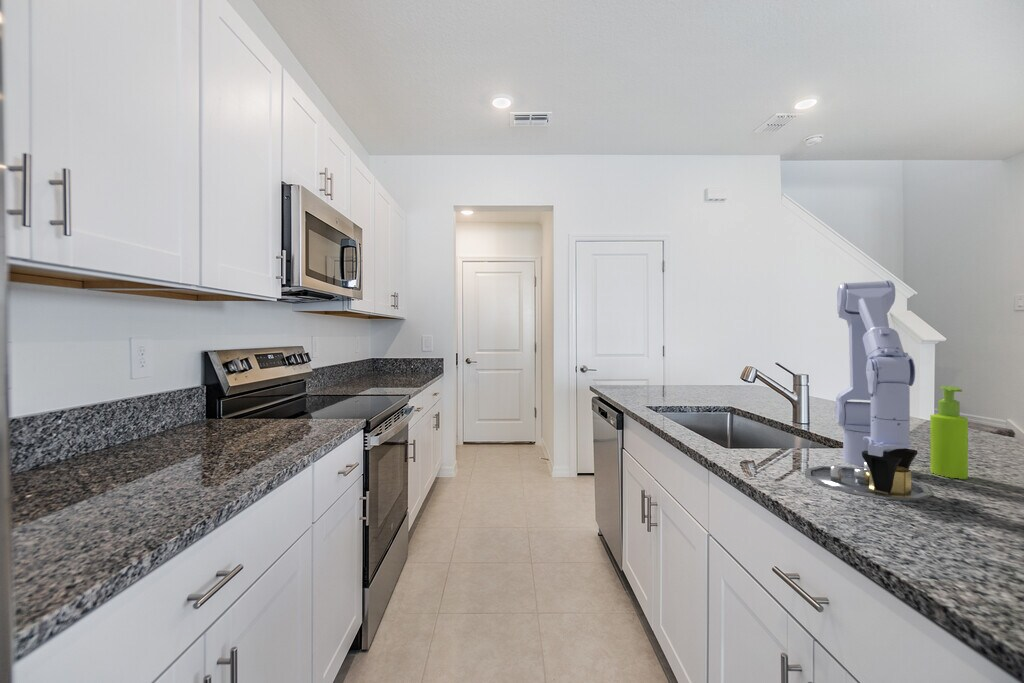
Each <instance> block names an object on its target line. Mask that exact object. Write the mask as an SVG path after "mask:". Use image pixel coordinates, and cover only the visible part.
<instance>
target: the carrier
mask: <svg viewBox="0 0 1024 683" xmlns="http://www.w3.org/2000/svg"><path fill="white" fill-rule="evenodd" d="M831 466H832V465H818V466H812V467H808V468H805V471H804V478H806V479H808V480H810V481H811V482H814V483H815V484H818V485H819V486H822V487H825V488H829V489H832V490H836V491H839V492H843V493H847V494H851V495H857V496H860V497H861V496H863V497H868V498H874V499H882V500H891V501H893V500H894V501H920V500H925V499H928V498H930V497H932V496H933V492H932V491H931V489H930V488H929V487H928V485H926V484H922V483H920V482H917V481H915V480H913V479H911V495H909V496H894V495H887V494H883V493H879V492H875V491H873V490H872V489H871V488H869V467H868V465H867V463H866V462H864V466H863V468H862V467H852V466H844V465H843V466H841V465H839V467H841V476H842V482H841V483H836V482H832V481H831Z"/></svg>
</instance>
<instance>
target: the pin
mask: <svg viewBox="0 0 1024 683" xmlns="http://www.w3.org/2000/svg"><path fill="white" fill-rule="evenodd" d="M830 466H831V481H832V482H836V483H841V482H842V476H841V467H839V466H840V465H839V466H838V465H830Z"/></svg>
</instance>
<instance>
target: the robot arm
mask: <svg viewBox="0 0 1024 683" xmlns="http://www.w3.org/2000/svg"><path fill="white" fill-rule="evenodd" d="M836 292H837V293H836V301H837V303H836V307H837V309H836V310H837V314H838V318H839V319H842V320H844V321H846V323H847V328H848V345H849V346H848V347H849V348H848V349H849V352H848V353H849V387H848V388H847V389H845V390H843V391H841V392H840V393H838V394H837V396H836V397H835V400H836V402H835V408H834V418H835V423H836V424H837V425H838V427H841V428H842V430H843V431H842V436H843V438H842V442H843V444H842V447H843V448H842V450H843V452H842V453H843V454H842V455H843V456H842V457H843V458H842V459H843V460H842V461H843V462H844V463H846V464H849V465H852V466H853V465H854V466H859V467H864V462H866V463H867V465H868V467H869V469H870V472H871V475H872V479H873V482H874V486H875V488H876V490H879V491H883V492H888V493H890V492H891V490H892V486H893V480H894V475H895V471H896V469H897V466H900V467H904V468H907V469H909V470H910V467H911V464H912V462H913V461H914V459H915V458H916V456H917V455H918V450H916V449H913V448H912V443H911V437H910V436H911V435H910V434H911V433H910V432H911V430H910V427H911V426H910V425H911V424H910V420H911V417H910V416H911V415H910V413H911V411H910V408H911V407H910V406H911V405H910V394H911V393H910V389H911V388H910V387H912V386H913V385H914V382H915V381H916V365H915V362H914V359H913V357H912V356H911V355H909V353H908V352H905V351H904V349H903V345H902V342H901V338H900V336H899V335H900V334H899V333H898V331H897V330H896V329H894V328H892V327H890V324H889V318H888V316H889V315H888V313H890V312H889V311H890V310H891V308H892V306H893V305H894V303H895V301H896V286H895V283H894V282H893V281H891V280H890V279H887V280H880V281H865V282H862V281H861V282H841V283H840V284H839V285H838V287H837V291H836ZM852 400H853V401H852ZM855 400H858V401H855ZM866 401H870V402H866Z"/></svg>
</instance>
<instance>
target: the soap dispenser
mask: <svg viewBox="0 0 1024 683" xmlns="http://www.w3.org/2000/svg"><path fill="white" fill-rule="evenodd" d="M940 389H941V390H942V391H943V392H942V394H943V395H942V397H943V398H940V399H939V400H938V401H937V414H935V413H934V414H930V417H929V418H930V419H929V421H930V423H929V424H930V426H929V427H930V429H929V430H930V436H929V437H930V445H929V446H930V447H929V448H930V473H931V472H932V473H934V474H933V475H935V474H937V475H936V476H938V475H941V476H940V477H942V476H945V477H944V478H947V477H950V478H949V479H954V478H959V479H958V480H967V479H968V478H969V457H968V456H969V438H968V436H969V433H968V432H969V428H968V426H969V419H968V418H967V417H965V416H962V415H960V414H961V413H960V410H961V409H960V405H961V404H960V401H957V400H956V399H955V393H956V392H959V393H961V392H963V389H962V388H960V387H959V386H953V385H951V386H949V385H940ZM932 473H931V474H932ZM966 478H967V479H966Z"/></svg>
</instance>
